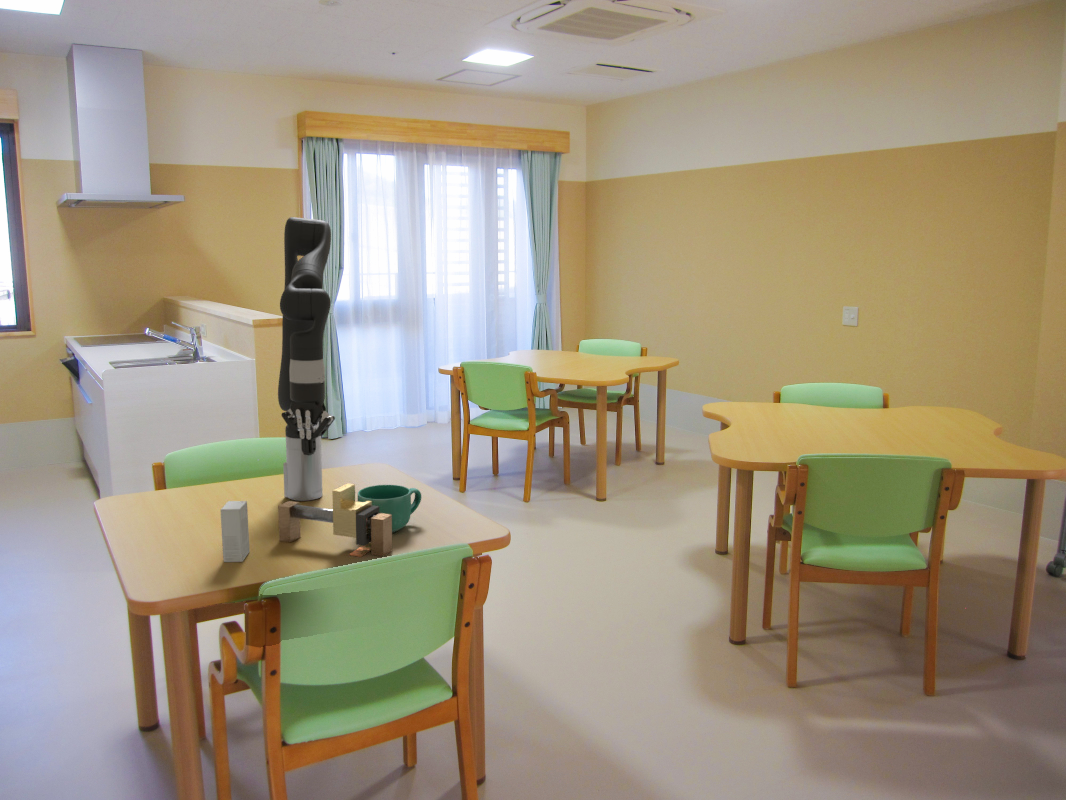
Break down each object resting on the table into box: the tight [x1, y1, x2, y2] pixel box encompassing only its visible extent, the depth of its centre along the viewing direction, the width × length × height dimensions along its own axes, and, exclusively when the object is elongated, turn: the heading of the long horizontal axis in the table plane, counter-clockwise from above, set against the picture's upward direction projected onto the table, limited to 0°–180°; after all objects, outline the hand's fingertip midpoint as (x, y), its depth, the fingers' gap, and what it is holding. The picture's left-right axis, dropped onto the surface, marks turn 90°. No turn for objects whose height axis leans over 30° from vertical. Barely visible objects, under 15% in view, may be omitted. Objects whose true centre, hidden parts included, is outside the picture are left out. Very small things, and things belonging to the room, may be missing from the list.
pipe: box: [277, 500, 393, 558], centre depth 185 cm, size 27×8×8 cm, turn 72°
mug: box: [357, 484, 422, 533], centre depth 198 cm, size 17×13×10 cm
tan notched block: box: [331, 483, 372, 539], centre depth 183 cm, size 6×7×10 cm
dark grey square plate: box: [355, 505, 380, 546], centre depth 182 cm, size 2×7×7 cm, turn 162°
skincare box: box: [220, 500, 250, 563], centre depth 177 cm, size 6×4×12 cm
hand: (308, 454), depth 184 cm, fingers closed
